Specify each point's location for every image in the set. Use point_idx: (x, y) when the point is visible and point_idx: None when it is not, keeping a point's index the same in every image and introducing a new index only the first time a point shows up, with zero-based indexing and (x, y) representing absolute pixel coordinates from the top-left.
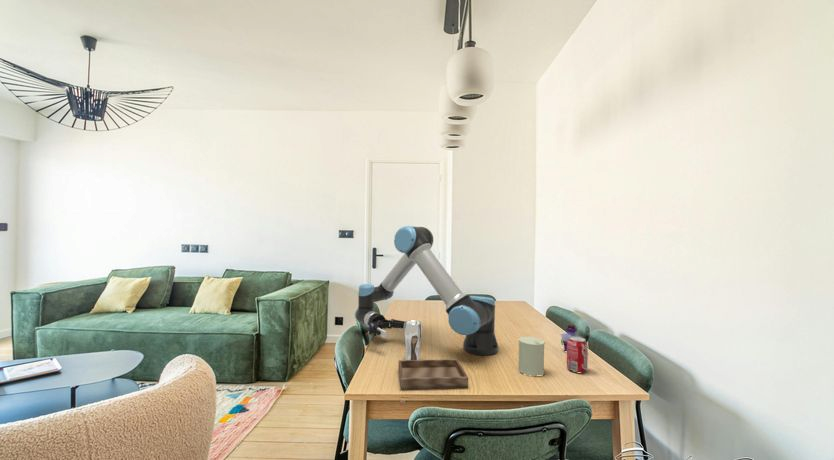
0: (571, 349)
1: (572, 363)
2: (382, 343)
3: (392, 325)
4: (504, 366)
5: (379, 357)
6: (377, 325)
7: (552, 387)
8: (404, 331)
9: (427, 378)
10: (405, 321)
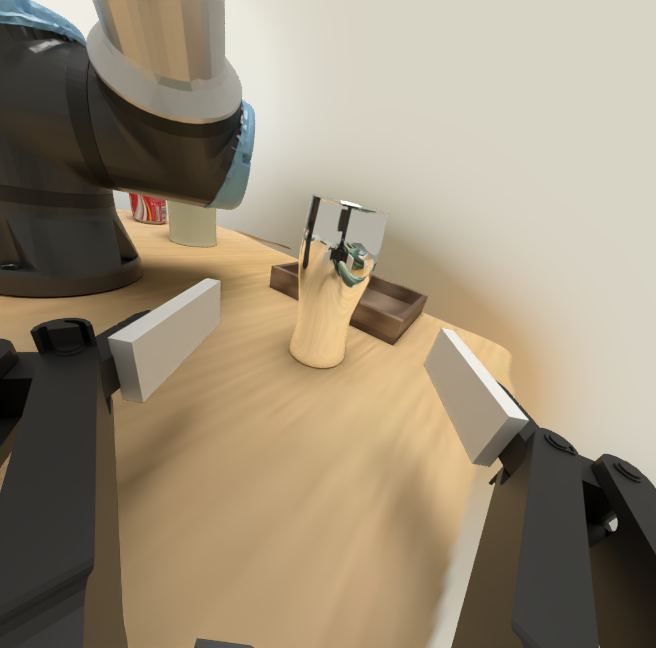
0: None
1: (164, 210)
2: None
3: (114, 581)
4: (194, 253)
5: (424, 444)
6: (543, 547)
7: (237, 238)
8: (377, 256)
9: (383, 279)
10: (68, 326)
